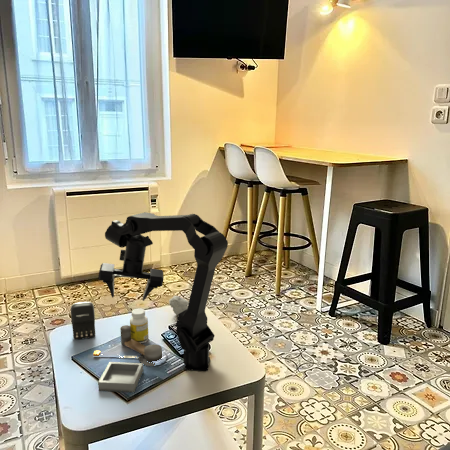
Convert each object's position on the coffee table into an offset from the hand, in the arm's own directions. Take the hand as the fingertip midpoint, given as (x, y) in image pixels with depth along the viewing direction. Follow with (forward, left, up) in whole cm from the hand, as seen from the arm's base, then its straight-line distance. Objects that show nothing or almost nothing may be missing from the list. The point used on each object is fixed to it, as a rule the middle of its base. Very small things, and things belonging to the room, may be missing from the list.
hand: (128, 298), depth 132 cm
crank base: (-3, +11, -13) cm, 18 cm away
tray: (-4, +22, -13) cm, 26 cm away
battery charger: (+14, +1, -13) cm, 19 cm away
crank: (-5, +8, -12) cm, 16 cm away
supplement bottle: (-3, +1, -13) cm, 14 cm away
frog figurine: (-13, -17, -13) cm, 25 cm away
